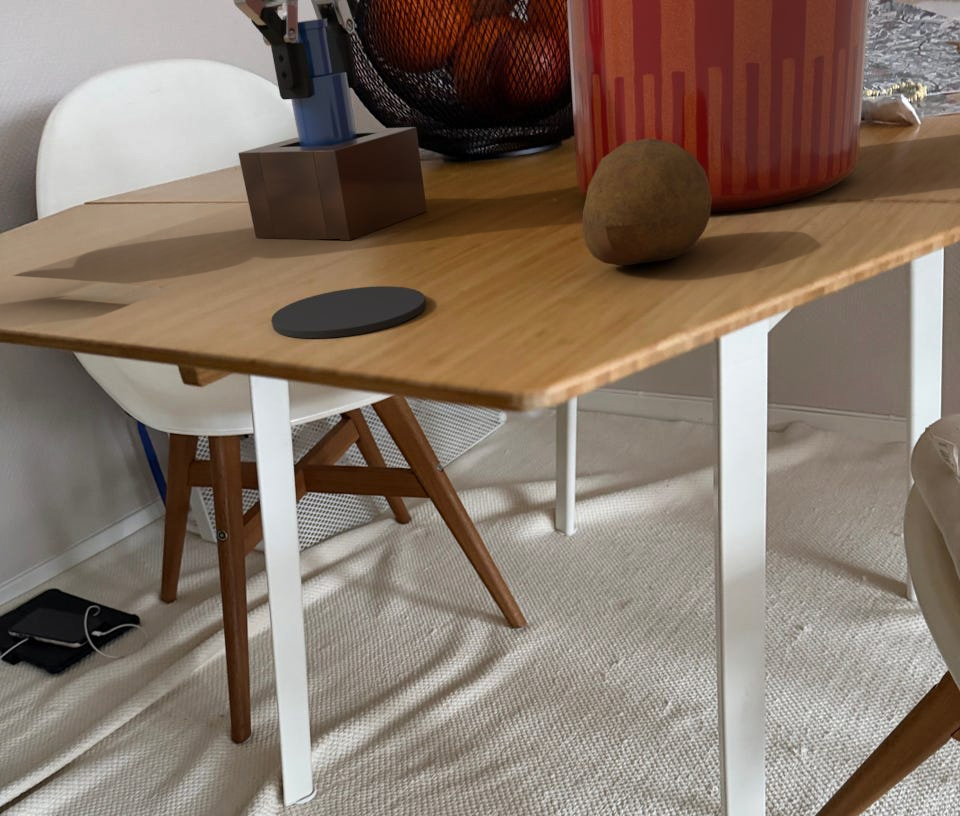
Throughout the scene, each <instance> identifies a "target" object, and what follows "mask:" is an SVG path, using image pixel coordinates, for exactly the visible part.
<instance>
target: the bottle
mask: <svg viewBox="0 0 960 816" xmlns="http://www.w3.org/2000/svg"><path fill="white" fill-rule="evenodd" d="M326 27H328V20H327V18H323V19H317V18H314V19H308V20H301V21H299V20H298V39H297V43H299V42H304V45H305V48H306V54H307V60H308V66H309V72H310V78H311V83H312V89H313V94H312V96H311V97H309V98H302V99H290V101H291V108H292V112H293V117H294V123H295V128H296V133H297V137H298V140H299V146H300V147H302V146H332V145H336V144H339V143H343V142H347V141H350V140H354V139H357V135H356V129H357V128H356V123H355V122H356V121H355V117H354V109H353V104H352V103H353V102H352V97H351V90H350V88H349V83H348V77H347V72H346V71H333V66H332V60H331V54H330V47H329V41H328V35H327V29H326Z"/></svg>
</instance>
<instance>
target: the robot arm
mask: <svg viewBox="0 0 960 816" xmlns="http://www.w3.org/2000/svg"><path fill="white" fill-rule="evenodd" d="M310 2H311V4H312V7H313V10H314V13H315V16H316V19H323V18H327V20H328V27H326V29H327V35H328V41H329V47H330V54H331V60H332V66H333V71H346V72H347V77H348V83H349V89H352V88H356V87H357V86H358V75H357V69H356V62H355V57H354V49H353V43H352V42H353V41H352V36H351V34H353V33H354V31H355V22H354V19H355V16H356V13H357V11H358V8H359V2H360V0H310ZM233 4H234V5H235V7H237V9H238V10H240V12H242V13H243V14H244V15H245V16H246V17H247V18H248V19H250V21H251V23H252V25H253V26H254V27H255V28H256V29H257V30H258V32H260V34H261V35H262V39H263V42H264V44H265V45H266V46H267V47H270V48H271V53H272V54H271V55H272V59H273V66H274V69H275V70H274V71H275V76H276V81H277V82H276V83H277V86H278V92H279V96H280V98H281V99H282V100H284V101H285V100H291V99H302V98H309V97H311V96H312V94H313V89H312V83H311V78H310V72H309V66H308V60H307V54H306V48H305V45H304V42H299V43H297V39H298V22H299V0H233ZM328 4H332V5H331V8H329V6H328ZM279 11H282V17H281V16H280V15H279Z"/></svg>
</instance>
